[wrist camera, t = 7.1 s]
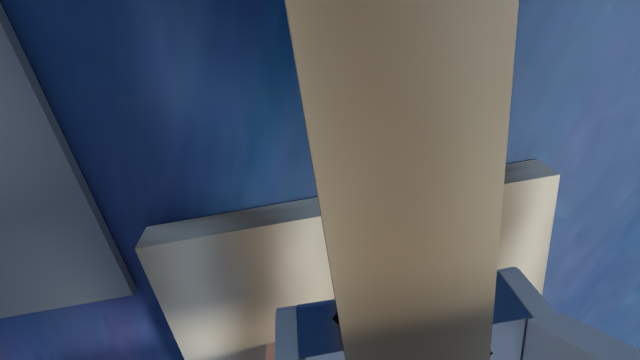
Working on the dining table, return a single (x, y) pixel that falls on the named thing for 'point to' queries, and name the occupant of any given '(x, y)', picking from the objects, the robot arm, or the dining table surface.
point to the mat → (46, 204)
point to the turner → (408, 165)
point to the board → (296, 264)
